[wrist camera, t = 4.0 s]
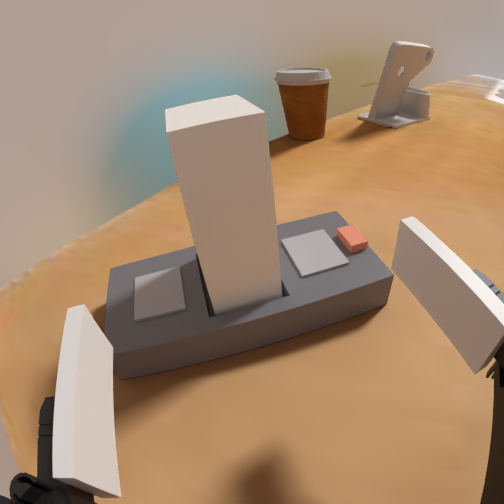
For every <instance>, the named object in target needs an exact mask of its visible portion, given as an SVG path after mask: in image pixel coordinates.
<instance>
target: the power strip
mask: <svg viewBox="0 0 504 504" xmlns="http://www.w3.org/2000/svg"><path fill="white" fill-rule="evenodd" d="M277 237H278V249H279V261H280V274H281V287H282V298H279V299H276V300H272V301H269V302H265V303H262V304H258V305H255V306H251V307H248V308H244V309H240V310H237V311H233V312H229V313H226V314H222V315H218V316H215V312H214V309H213V306H212V303H211V299H210V296H209V293H208V289H207V286H206V282H205V279H204V275H203V272H202V268H201V265H200V261H199V258H198V254H197V251H196V247H195V246H193V247H189V248H186V249H182V250H178V251H174V252H170V253H167V254H163V255H159V256H155V257H151V258H148V259H144V260H140V261H137V262H133V263H129V264H125V265H122V266H118V267H114V268H111V269H110V275H109V283H108V292H107V301H106V311H105V322H104V335H105V336H106V338H107V339H108V341H109V342H110V344H111V345H112V346H113V370H114V371H115V373H116V374H117V375H118V376H119V378H120V379H121V380H124V379H129V378H134V377H139V376H144V375H149V374H154V373H159V372H163V371H168V370H172V369H177V368H181V367H186V366H190V365H194V364H198V363H202V362H206V361H210V360H214V359H218V358H222V357H226V356H230V355H233V354H237V353H241V352H244V351H248V350H251V349H255V348H258V347H262V346H265V345H269V344H272V343H275V342H279V341H282V340H285V339H288V338H292V337H295V336H298V335H301V334H304V333H307V332H310V331H313V330H316V329H319V328H322V327H325V326H328V325H331V324H334V323H337V322H340V321H343V320H345V319H348V318H351V317H354V316H356V315H359V314H362V313H365V312H367V311H370V310H373V309H375V308H378V307H380V306H383V305H386V304H387V301H388V297H389V293H390V289H391V285H392V281H393V276H394V275H393V273H392V272H391V271H390V270H389V269H388V268H387V266H386V265H385V264H384V263H383V262H382V261H381V259H380V258H379V257H378V256H377V255H376V254H375V253H374V252H373V250H372V249H371V248H370V247H369V246H368V245H367V244H368V241H367V240H366V239H365V238H364V237H363V235H362V234H361V233H360V232H359V231H358V230H357V229H356V228H355V227H354V226H353V225H349V224H348V223H347V222H346V221H345V220H344V219H343V218H342V216H341V215H340V214H339V213H338V212H337V211H334V212H330V213H326V214H322V215H317V216H313V217H309V218H305V219H301V220H297V221H293V222H289V223H284V224H280V225H277Z"/></svg>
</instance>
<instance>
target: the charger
mask: <svg viewBox="0 0 504 504" xmlns="http://www.w3.org/2000/svg"><path fill="white" fill-rule="evenodd" d="M165 112H166V113H165V114H166V131H167V137H168V141H169V145H170V149H171V153H172V158H173V162H174V166H175V170H176V174H177V178H178V183H179V187H180V191H181V194H182V198H183V202H184V206H185V210H186V214H187V218H188V221H189V225H190V229H191V233H192V236H193V240H194V244H195V247H196V251H197V254H198V258H199V261H200V265H201V268H202V272H203V275H204V279H205V282H206V286H207V289H208V293H209V296H210V299H211V303H212V306H213V309H214V312H215V316H218V315H222V314H226V313H229V312H233V311H237V310H240V309H244V308H248V307H251V306H255V305H258V304H262V303H265V302H269V301H272V300H276V299H279V298H282V287H281V274H280V261H279V249H278V237H277V225H276V214H275V202H274V192H273V181H272V171H271V161H270V151H269V141H268V132H267V122H266V114H265V112H264V111H263V110H261V109H260V108H258V107H256V106H255V105H253V104H251V103H250V102H248V101H246V100H245V99H243V98H241V97H240V96H238V95H232V96H226V97H221V98H215V99H210V100H205V101H200V102H196V103H191V104H187V105H182V106H178V107H174V108H170V109H166V110H165Z"/></svg>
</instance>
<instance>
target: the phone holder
mask: <svg viewBox="0 0 504 504" xmlns="http://www.w3.org/2000/svg"><path fill="white" fill-rule="evenodd" d="M433 53H434V51H433V48H431V47H429V46H427V45H424V44H418V43H410V42H403V41H395V42H394V43H393V44H392V45H391V47H390V49H389V53H388V56H387V59H386V63H385V66H384V69H383V72H382V76H381V79H380V82H379V85H378V88H377V91H376V94H375V97H374V100H373V103H372V106H371V109H370V112H368V113H364V114H360V115H359V119H362V120H365V121H369V122H372V123H375V124H379V125H382V126H385V127H392V128H395V129H396V128H401V127H404V126H408V125H411V124H415V123H419V122H422V121H426V120H430V116H429V109H430V93H428V92H425V91H421V90H417V89H412V88H408V84H409V82H410V80H411V79H412V78H413V77H415V76H416V75H417V74H418V73H419V72H420V71H421V70H423V69H424V68H425V67H426V66H427V65H428V64H429V63H430V62H431V59H432V57H433ZM403 65H404V67H405V69H404V72H403V73H402V74H401V75H400V76H398V71H399V69H400V67H401V66H403Z"/></svg>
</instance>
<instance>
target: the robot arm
mask: <svg viewBox="0 0 504 504" xmlns="http://www.w3.org/2000/svg"><path fill="white" fill-rule="evenodd" d="M391 269H392V270H393V271H394V272H395V273H396V275H397V276H398V277H399V278H400V279H401V280H402V282H403V283H404V284H405V285H406V286H407V288H408V289H409V290H410V291H411V292H412V293H413V295H414V296H415V297H416V298H417V299H418V301H419V302H420V303H421V304H422V306H423V307H424V308H425V309H426V311H427V312H428V313H429V314H430V316H431V317H432V318H433V319H434V321H435V322H436V323H437V324H438V326H439V327H440V328H441V329H442V331H443V332H444V333H445V335H446V336H447V337H448V339H449V340H450V341H451V343H452V344H453V345H454V346H455V348H456V349H457V351H458V352H459V353H460V355H461V356H462V357H463V359H464V360H465V361H466V363H467V364H468V366H469V367H470V368H471V370H472V371H473V373H474V374H476V373H478V372H479V371H481V370H482V369H483V368H485V367H486V366H487V365H488V364H489V362H490V361H491V360H492V358H493V357H494V358H495V359H496V361H495V363H494V364H493V365H492V367H491V368H490V369H489V371H488V372H487V375H486V378H488V377H489V376H490V375H491V374H492V373H493V371H494V374H493V375H492V377H491V378H492V379H494V406H493V423H492V434H491V444H490V452H489V460H488V466H487V472H486V478H485V484H484V489H483V493H482V498H481V503H480V504H504V294H503V293H502V292H500V290H499V289H498V288H497V287H496V285H495V286H494V283H493V282H492V281H491V280H490V279H489V278H488V277H487V276H486V275H484V274H483V273H481V272H479V271H478V270H476V269H474V270H471V269H470V268H469V267H468V266H467V265H466V264H465V263H464V262H463V261H462V260H461V259H460V258H459V257H458V256H457V255H456V254H455V253H454V252H453V251H452V250H451V249H449V248H448V247H447V246H446V245H445V244H444V243H443V242H442V241H441V240H440V239H439V238H438V237H436V236H435V235H434V234H433V233H432V232H431V231H430V230H429V229H427V228H426V227H425V226H424V225H423V224H422V223H421V222H419V221H418V220H417V219H416V218H415V217H414V216H412V217H409V218H405V219H402V220H400V225H399V231H398V237H397V242H396V247H395V252H394V257H393V262H392V267H391ZM39 425H40V427H39V432H38V435H39V438H38V462H37V478H36V477H34V476H32V475H30V474H27V473H19V474H18V475H16V476H15V477H14V478H13V480H12V481H11V485H10V497H11V499H9V498H6V497H4V496H1V495H0V504H97V503H95V502H94V496H93V495H95V496H98V497H101V498H118V497H121V490H120V482H119V474H118V465H117V454H116V442H115V427H114V405H113V346H112V345H111V344H110V342H109V341H108V339H107V338H106V336H105V335H104V333H103V332H102V331H101V329H100V328H99V326H98V325H97V323H96V322H95V320H94V319H93V317H92V315H91V314H90V312H89V311H88V309H87V308H86V306H85V304H83V305H79V306H75V307H71V308H68V311H67V316H66V321H65V326H64V332H63V338H62V344H61V351H60V358H59V365H58V374H57V382H56V393H55V396H53V397H46V398H45V400H44V402H43V405H42V407H41V409H40V418H39Z"/></svg>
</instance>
